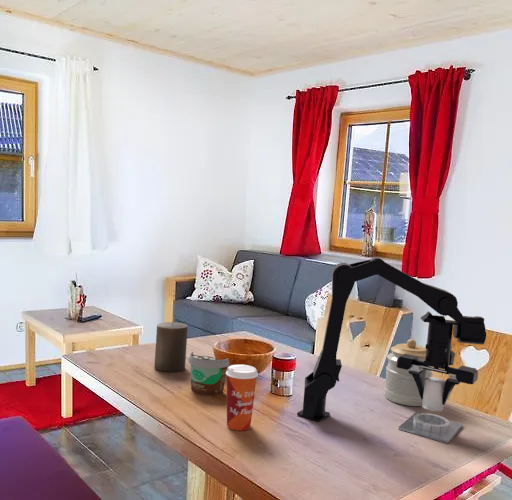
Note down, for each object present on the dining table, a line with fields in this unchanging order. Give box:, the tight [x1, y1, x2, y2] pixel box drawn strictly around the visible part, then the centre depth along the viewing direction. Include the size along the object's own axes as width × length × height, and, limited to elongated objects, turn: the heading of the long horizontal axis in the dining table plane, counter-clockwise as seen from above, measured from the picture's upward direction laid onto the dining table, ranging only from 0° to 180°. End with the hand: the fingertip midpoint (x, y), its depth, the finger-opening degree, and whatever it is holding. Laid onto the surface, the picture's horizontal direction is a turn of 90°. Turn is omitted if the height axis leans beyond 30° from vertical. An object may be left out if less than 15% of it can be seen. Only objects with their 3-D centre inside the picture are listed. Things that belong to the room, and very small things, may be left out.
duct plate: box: [398, 411, 464, 445], centre depth 135 cm, size 14×12×2 cm
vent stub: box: [421, 376, 446, 412], centre depth 135 cm, size 6×5×7 cm
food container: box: [187, 351, 231, 396], centre depth 149 cm, size 12×6×10 cm, turn 68°
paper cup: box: [226, 364, 259, 432], centre depth 128 cm, size 8×8×14 cm
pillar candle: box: [154, 320, 189, 373], centre depth 170 cm, size 10×10×15 cm
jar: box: [383, 338, 433, 407], centre depth 156 cm, size 13×13×18 cm
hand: (433, 401), depth 135 cm, fingers closed on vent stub, 5 cm apart
